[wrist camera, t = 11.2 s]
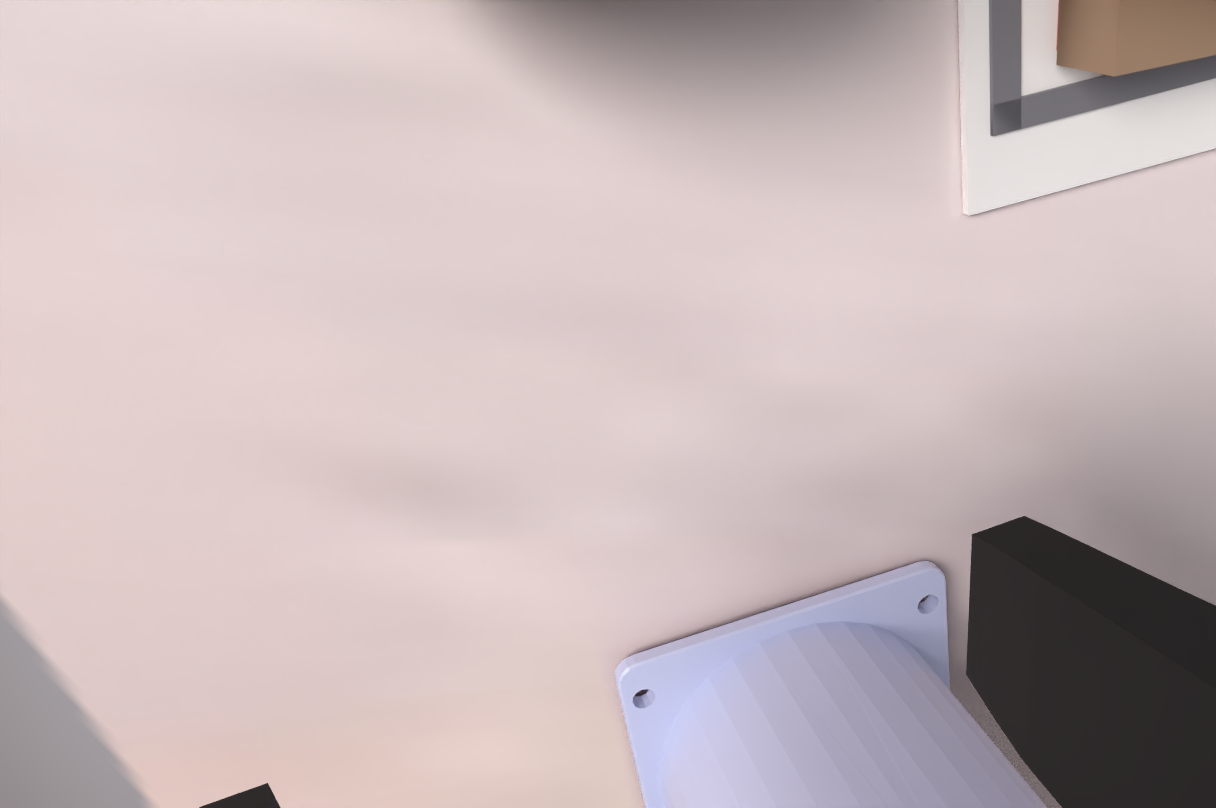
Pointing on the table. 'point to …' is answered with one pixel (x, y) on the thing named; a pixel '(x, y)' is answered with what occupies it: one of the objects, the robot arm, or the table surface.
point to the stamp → (1133, 34)
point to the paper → (1064, 109)
